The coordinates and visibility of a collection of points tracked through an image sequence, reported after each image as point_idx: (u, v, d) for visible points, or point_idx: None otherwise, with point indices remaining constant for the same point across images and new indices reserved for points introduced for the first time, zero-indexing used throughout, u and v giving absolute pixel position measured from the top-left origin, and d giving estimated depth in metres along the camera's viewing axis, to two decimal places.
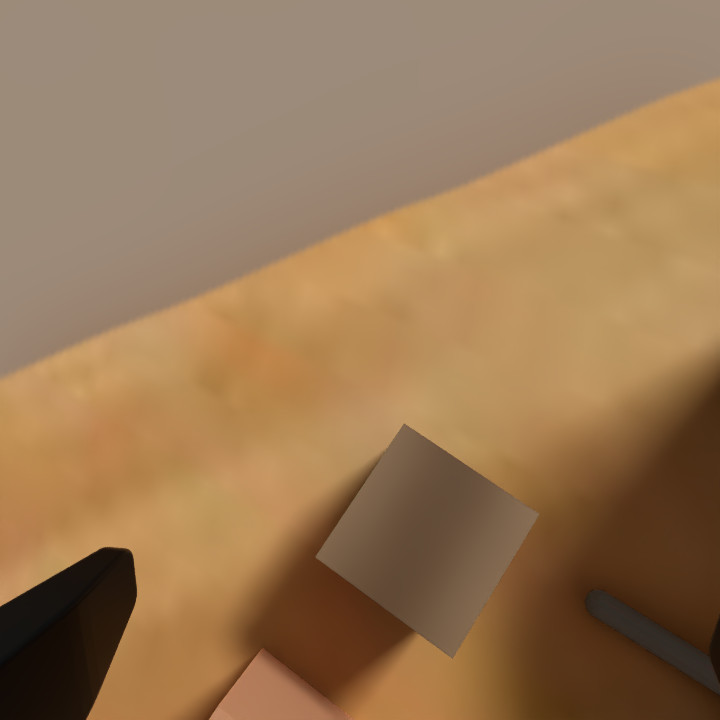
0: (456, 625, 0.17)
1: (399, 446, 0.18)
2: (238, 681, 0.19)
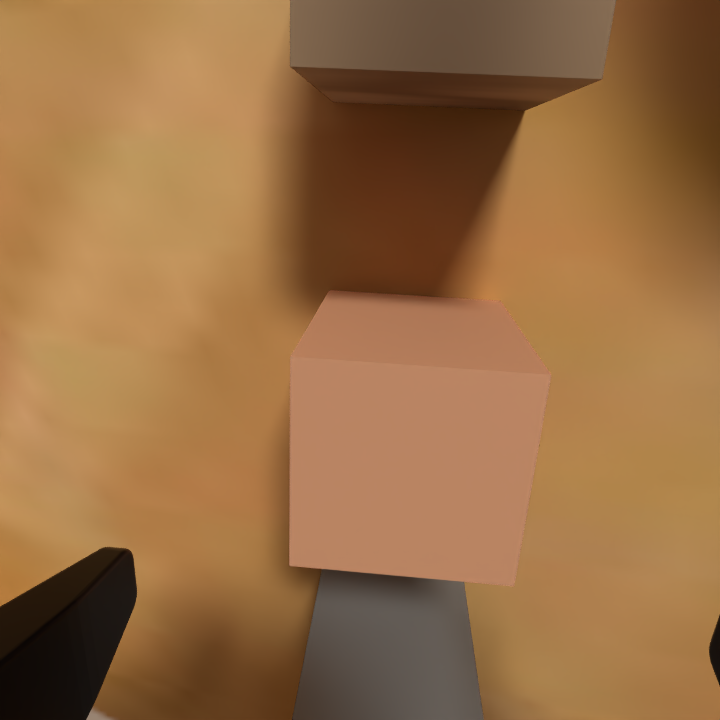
0: (587, 17, 0.09)
1: None
2: (310, 325, 0.13)
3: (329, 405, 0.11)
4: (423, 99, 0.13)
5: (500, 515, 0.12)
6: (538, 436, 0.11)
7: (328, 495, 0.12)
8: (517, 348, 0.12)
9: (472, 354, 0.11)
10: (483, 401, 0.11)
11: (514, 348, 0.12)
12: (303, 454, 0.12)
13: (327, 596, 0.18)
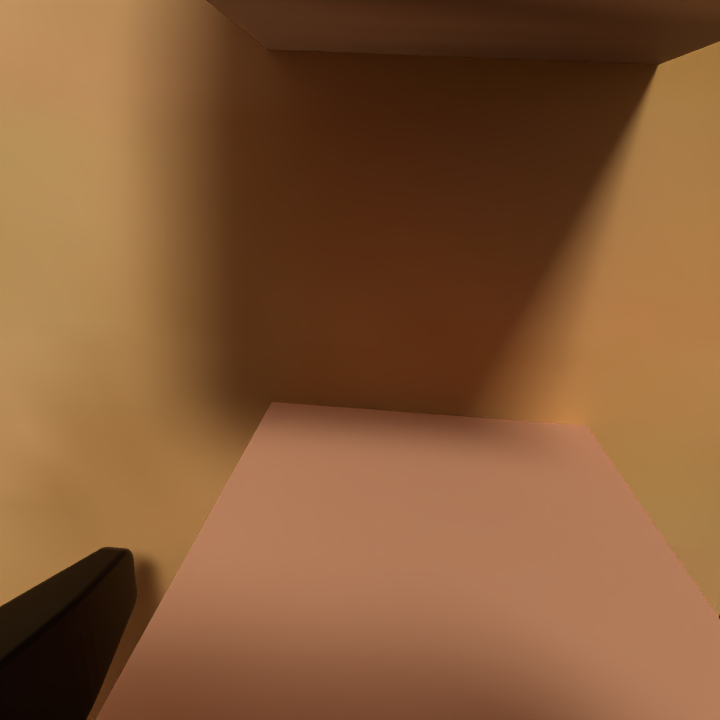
0: None
1: None
2: (188, 560, 0.05)
3: None
4: (455, 26, 0.06)
5: None
6: None
7: None
8: (710, 665, 0.05)
9: (605, 719, 0.04)
10: None
11: (704, 668, 0.04)
12: None
13: None
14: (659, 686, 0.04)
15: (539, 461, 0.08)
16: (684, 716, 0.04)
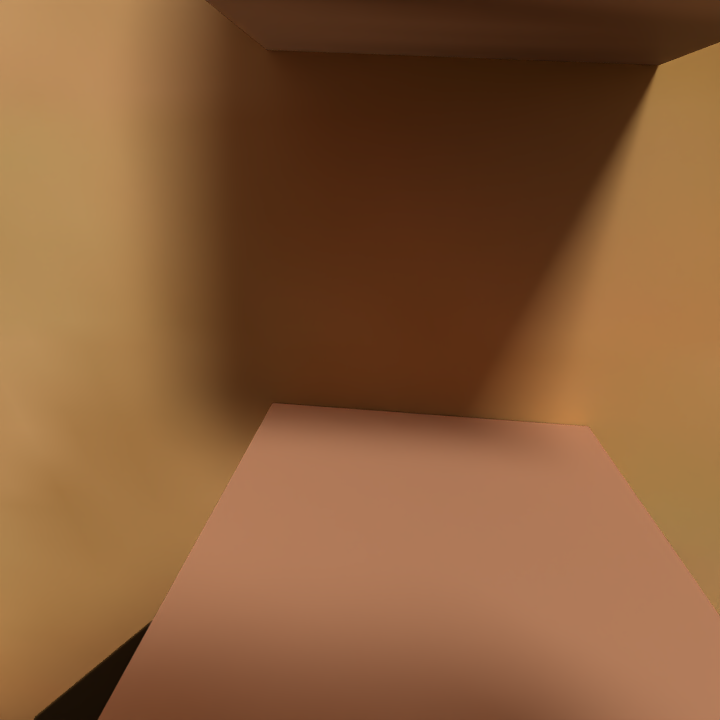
0: None
1: None
2: (188, 565, 0.05)
3: None
4: (455, 27, 0.06)
5: None
6: None
7: None
8: (717, 672, 0.04)
9: None
10: None
11: (709, 675, 0.04)
12: None
13: None
14: (666, 694, 0.04)
15: (542, 464, 0.08)
16: None
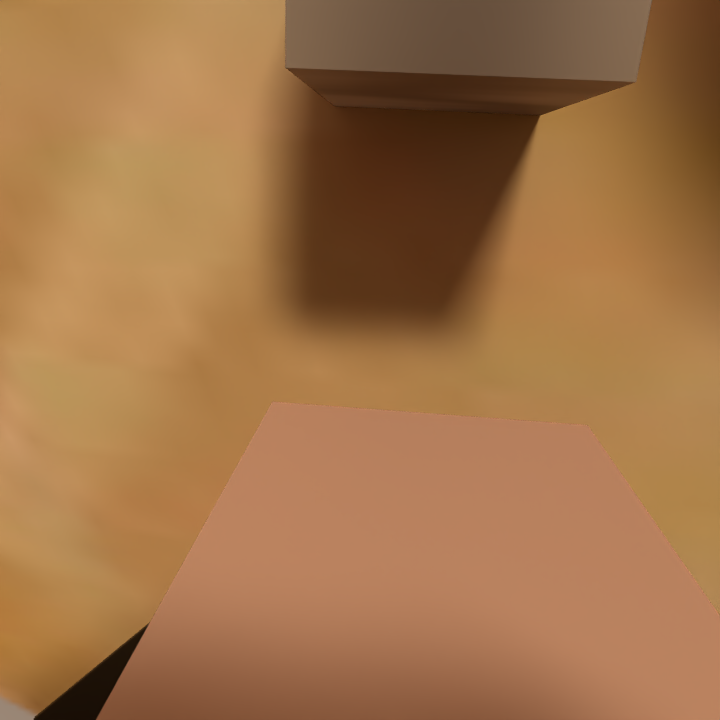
0: (620, 12, 0.08)
1: None
2: (188, 563, 0.05)
3: None
4: (431, 103, 0.12)
5: None
6: None
7: None
8: (715, 669, 0.04)
9: None
10: None
11: (707, 672, 0.04)
12: None
13: None
14: (664, 690, 0.04)
15: (541, 462, 0.08)
16: None
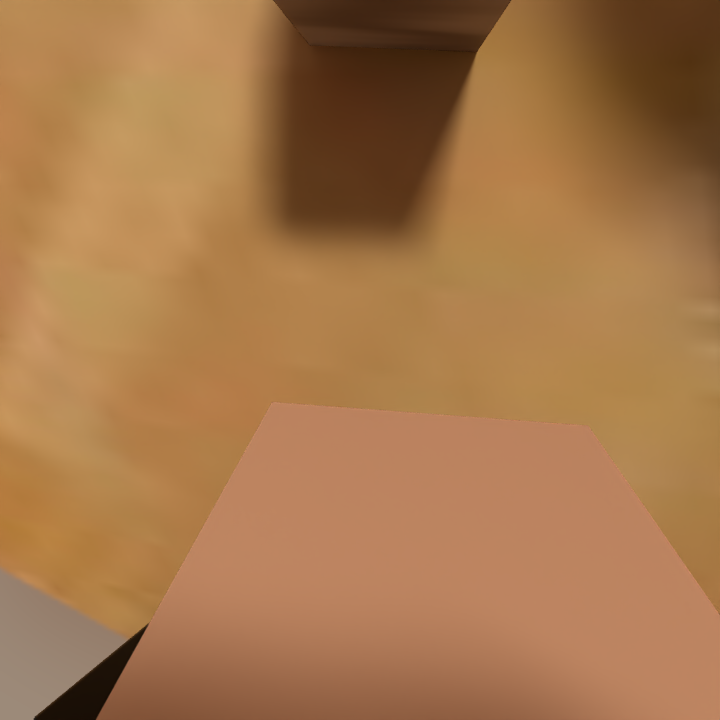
0: None
1: None
2: (187, 564, 0.05)
3: None
4: (384, 36, 0.15)
5: None
6: None
7: None
8: (716, 671, 0.04)
9: None
10: None
11: (709, 674, 0.04)
12: None
13: None
14: (665, 692, 0.04)
15: (541, 463, 0.08)
16: None
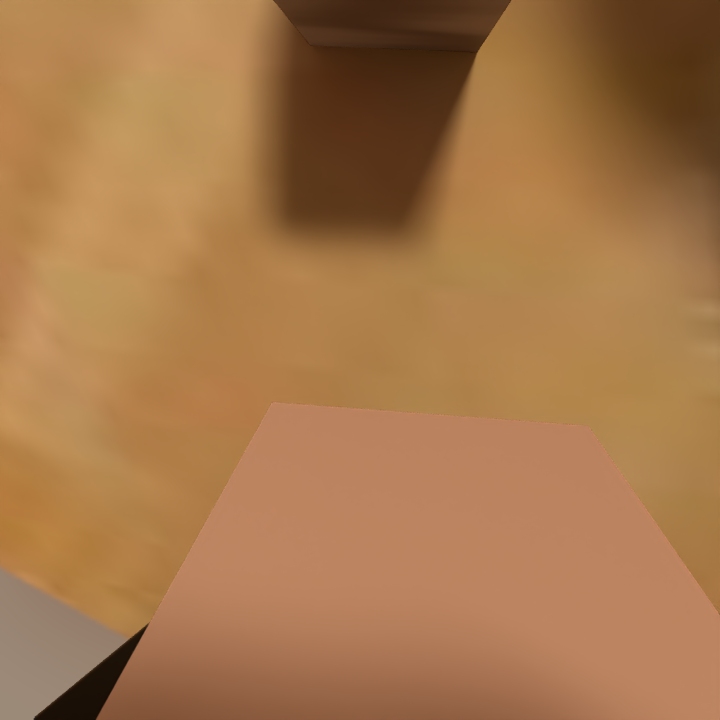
0: None
1: None
2: (187, 564, 0.05)
3: None
4: (385, 37, 0.15)
5: None
6: None
7: None
8: (716, 671, 0.04)
9: None
10: None
11: (709, 674, 0.04)
12: None
13: None
14: (665, 693, 0.04)
15: (541, 463, 0.08)
16: None
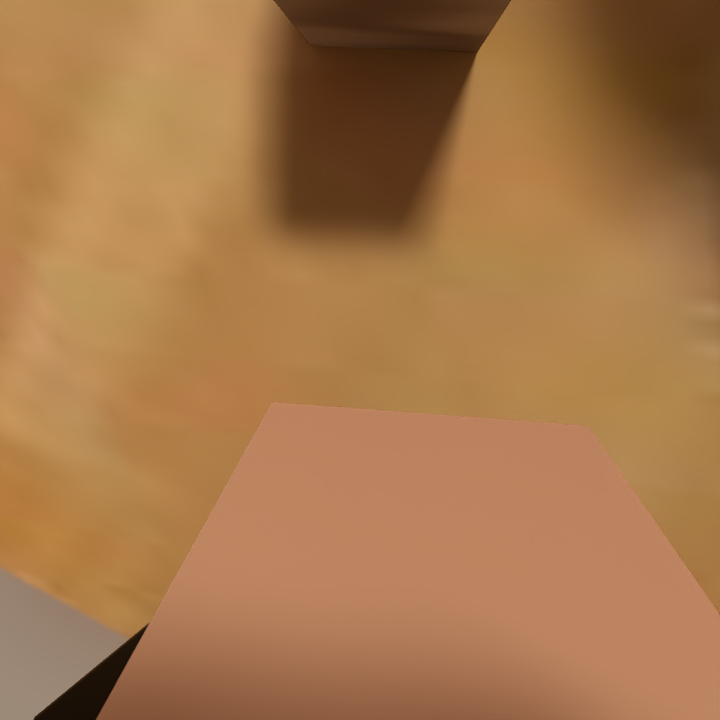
0: None
1: None
2: (187, 564, 0.05)
3: None
4: (385, 36, 0.15)
5: None
6: None
7: None
8: (716, 671, 0.04)
9: None
10: None
11: (709, 674, 0.04)
12: None
13: None
14: (665, 693, 0.04)
15: (541, 463, 0.08)
16: None
